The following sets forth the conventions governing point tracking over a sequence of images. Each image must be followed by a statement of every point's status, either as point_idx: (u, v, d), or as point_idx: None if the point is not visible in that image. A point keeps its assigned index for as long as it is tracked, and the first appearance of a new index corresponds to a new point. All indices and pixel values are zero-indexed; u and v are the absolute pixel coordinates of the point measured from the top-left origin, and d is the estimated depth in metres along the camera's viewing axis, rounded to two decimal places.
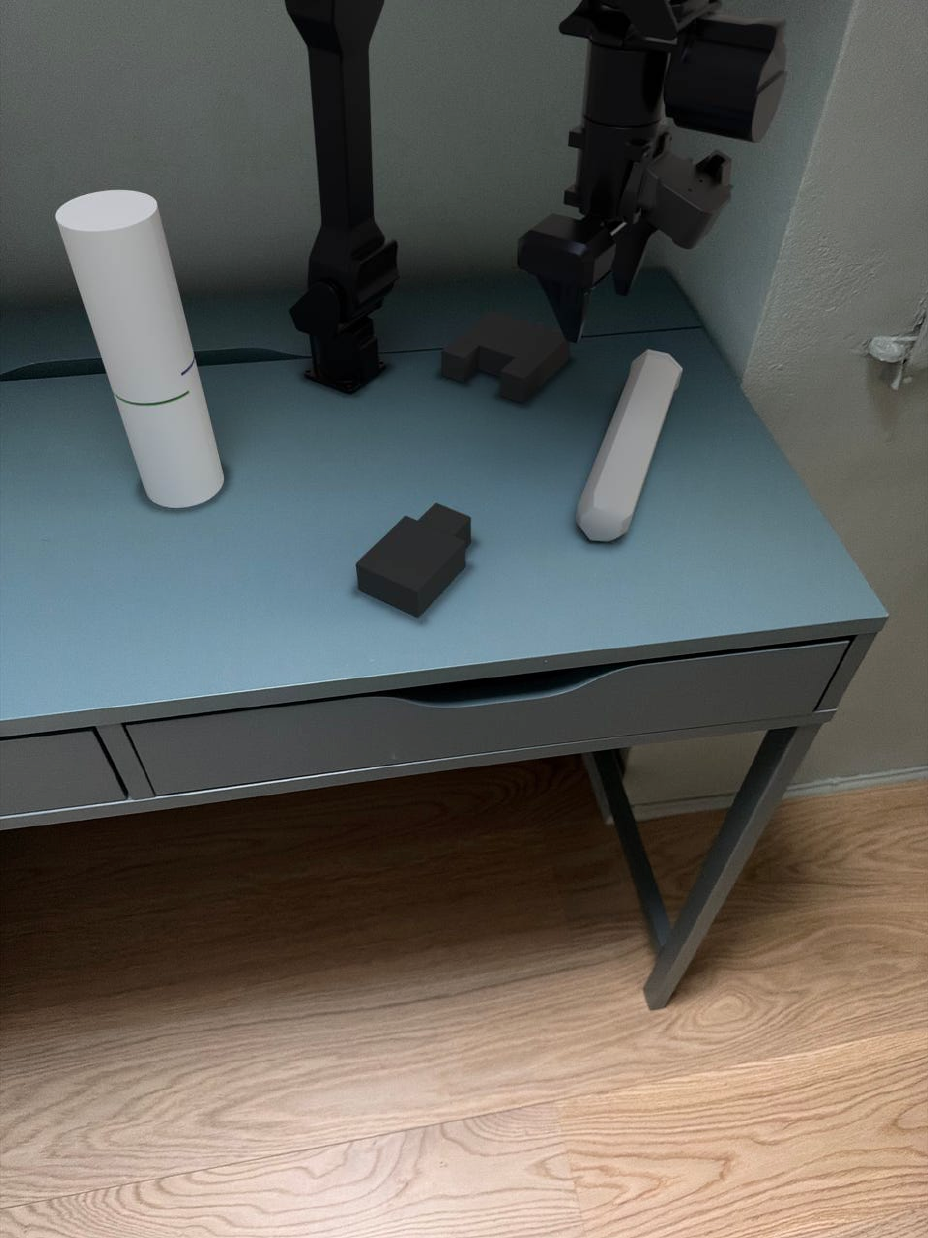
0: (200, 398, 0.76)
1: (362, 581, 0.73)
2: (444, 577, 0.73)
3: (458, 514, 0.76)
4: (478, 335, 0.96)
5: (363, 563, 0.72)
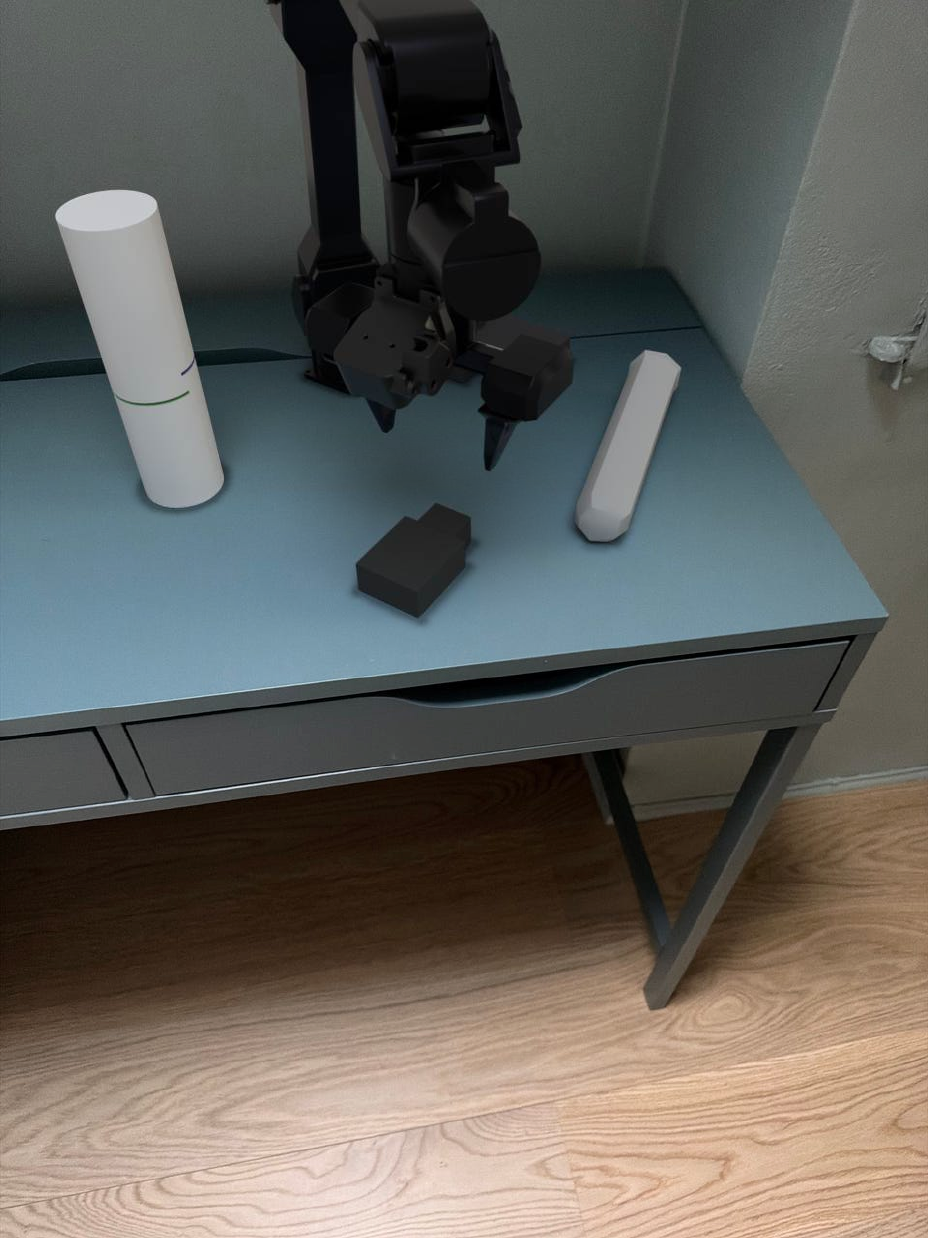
0: (200, 398, 0.76)
1: (362, 581, 0.73)
2: (444, 577, 0.73)
3: (458, 514, 0.76)
4: (478, 335, 0.96)
5: (363, 563, 0.72)
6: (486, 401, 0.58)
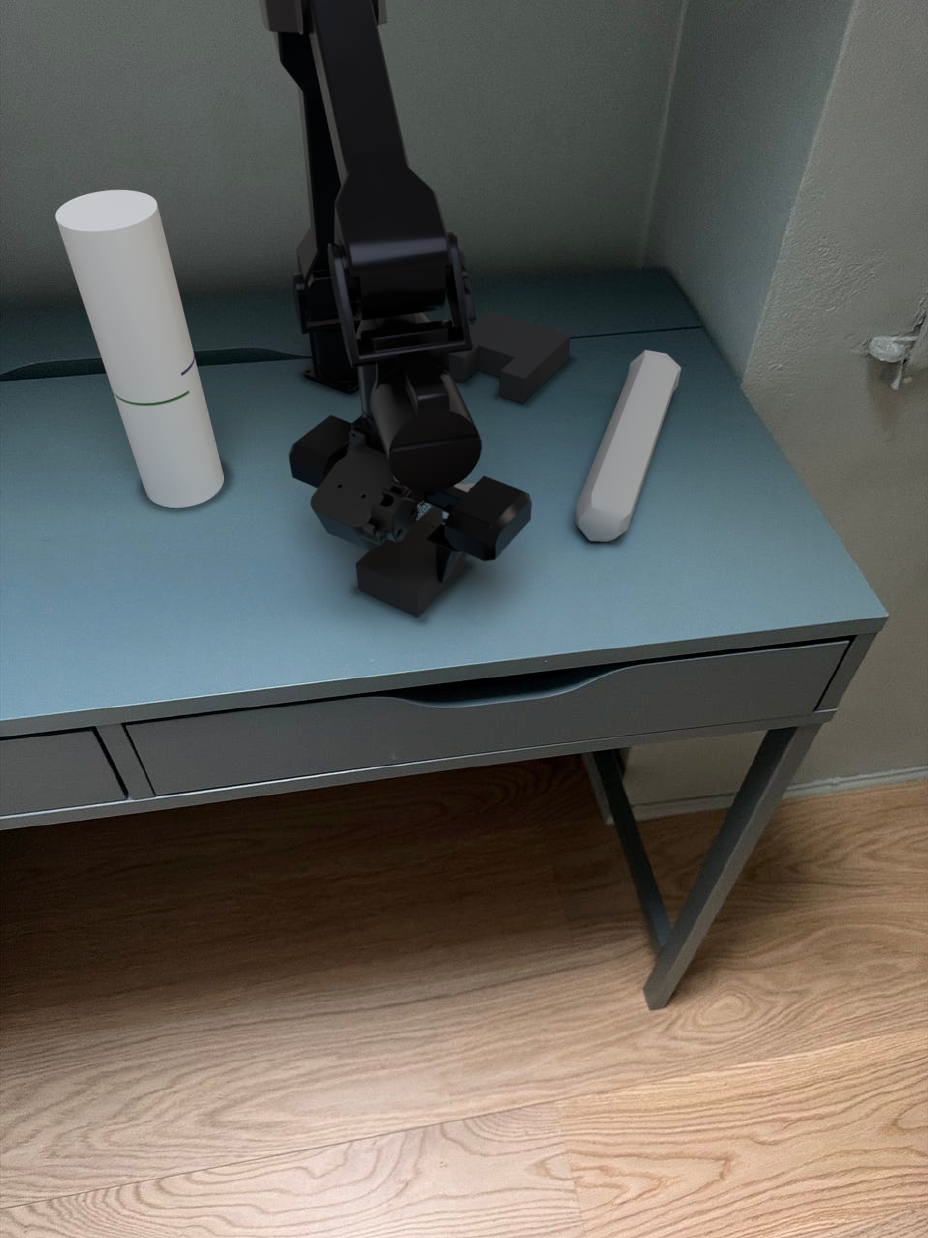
0: (200, 398, 0.76)
1: (362, 581, 0.73)
2: None
3: None
4: (478, 335, 0.96)
5: (363, 563, 0.72)
6: (450, 540, 0.64)
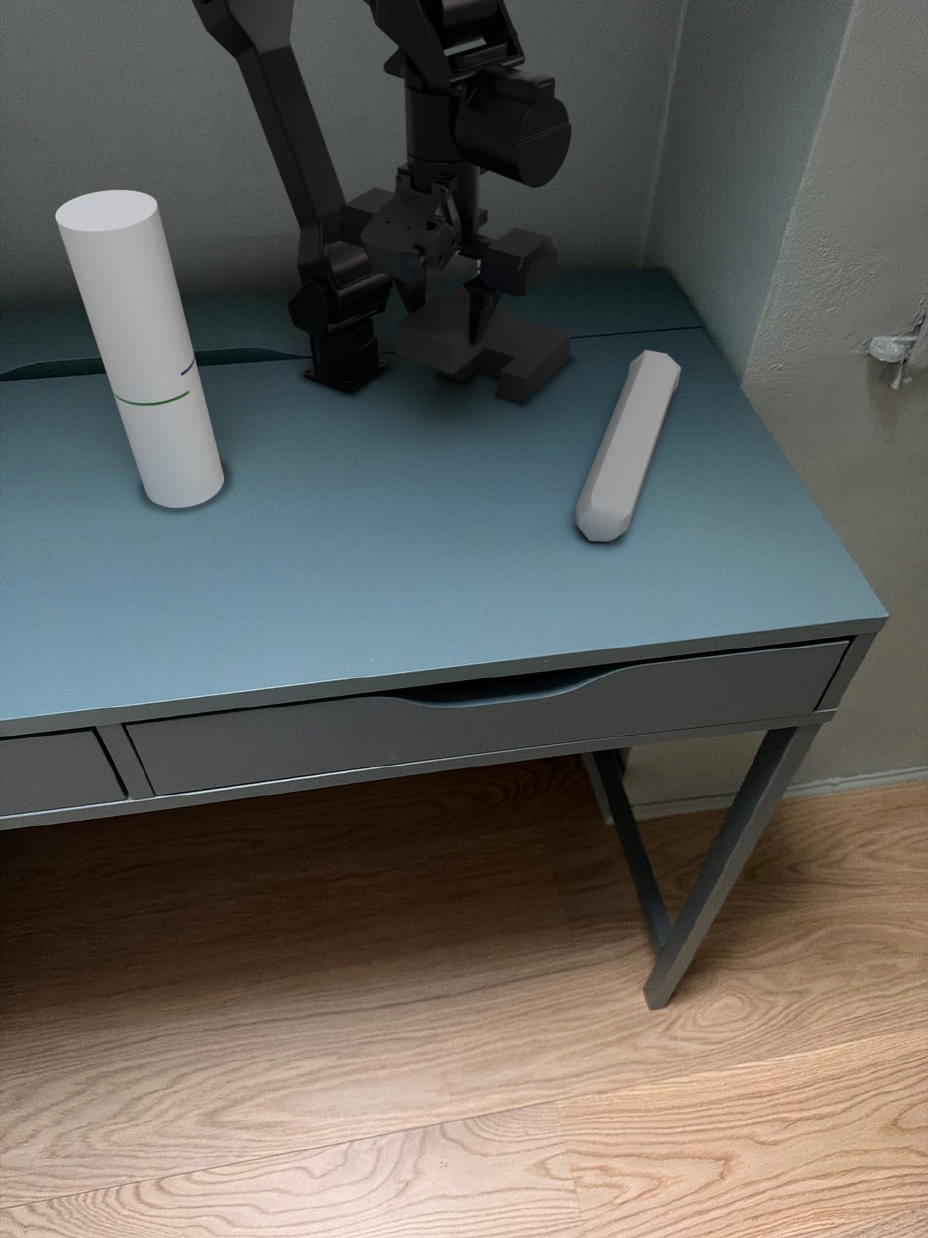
0: (200, 398, 0.76)
1: (401, 344, 0.80)
2: None
3: None
4: None
5: (402, 324, 0.79)
6: (484, 280, 0.71)
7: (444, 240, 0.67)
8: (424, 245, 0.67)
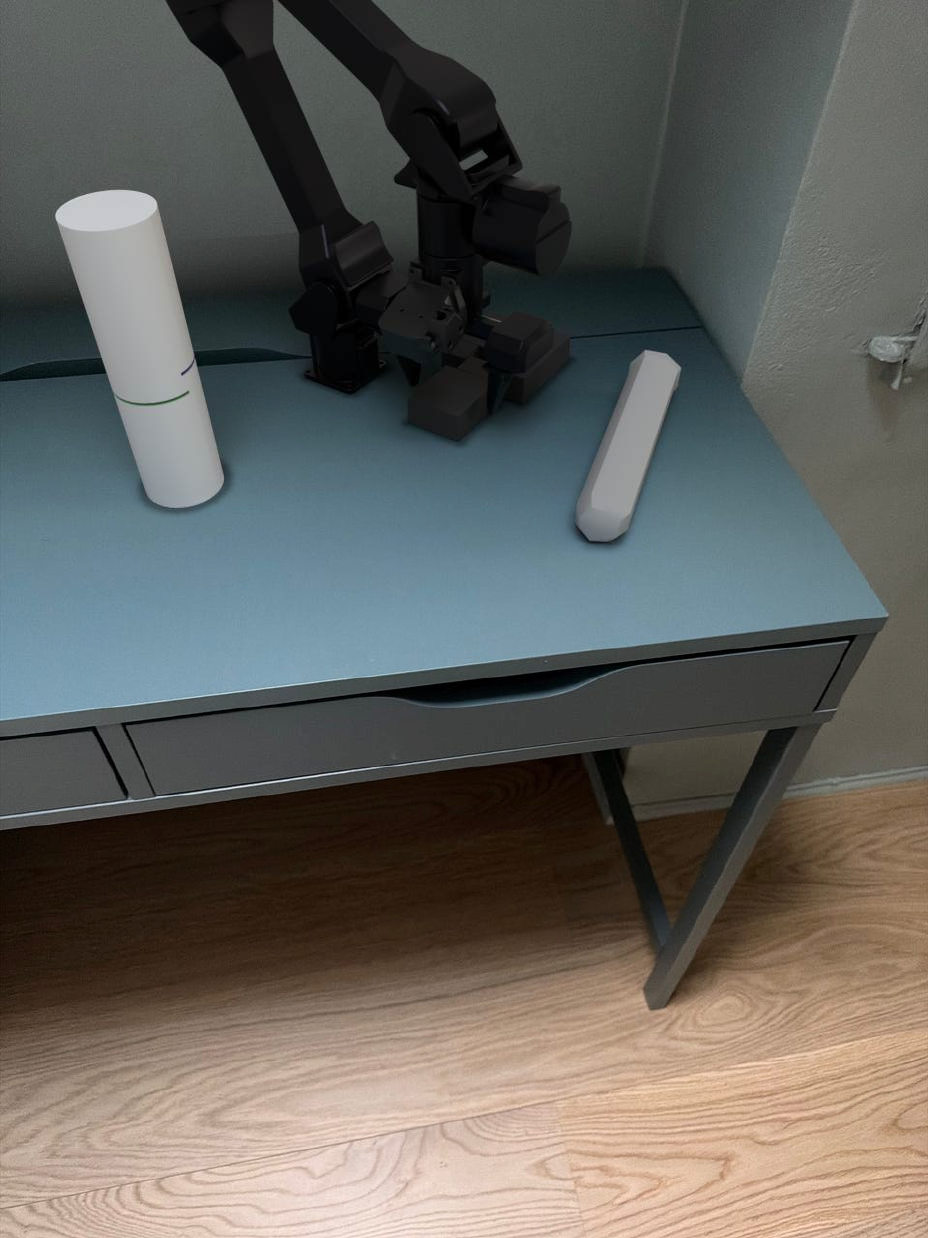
0: (200, 398, 0.76)
1: (412, 413, 0.89)
2: (479, 410, 0.89)
3: None
4: None
5: (413, 397, 0.88)
6: (488, 359, 0.80)
7: (453, 328, 0.76)
8: (435, 333, 0.76)
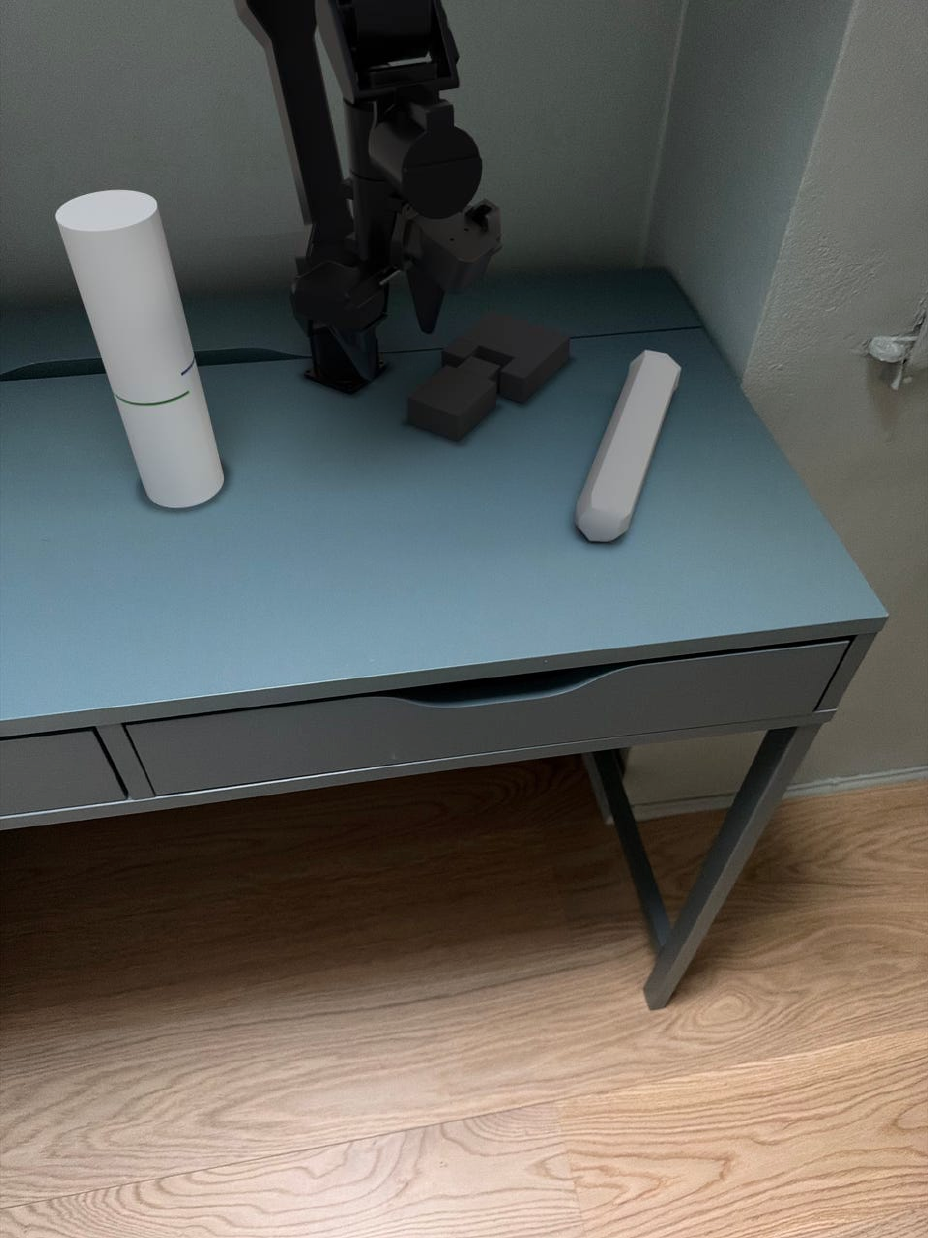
0: (200, 398, 0.76)
1: (412, 413, 0.89)
2: (479, 410, 0.89)
3: (489, 364, 0.92)
4: (478, 335, 0.96)
5: (413, 397, 0.88)
6: None
7: None
8: (494, 226, 0.69)
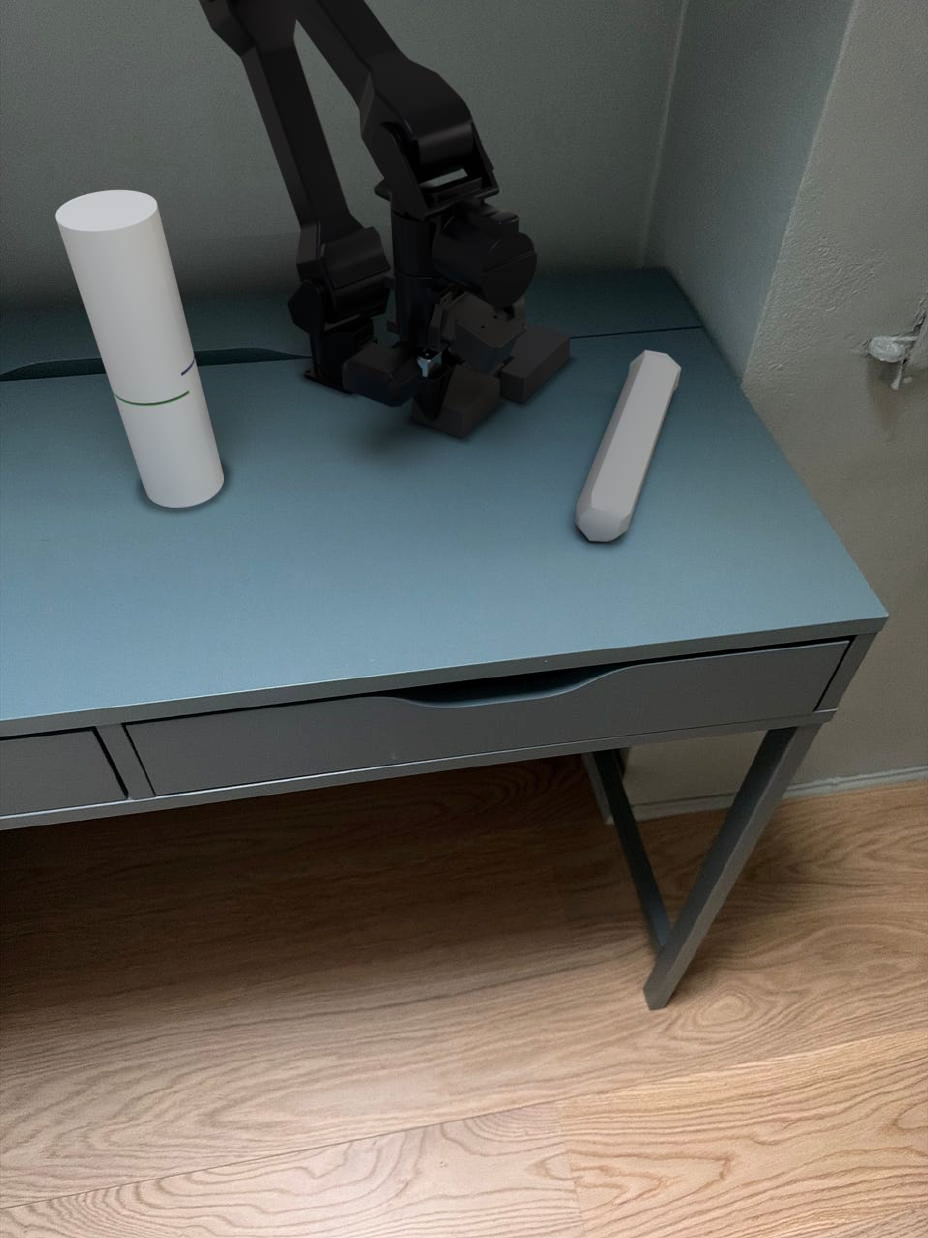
0: (200, 398, 0.76)
1: (416, 410, 0.89)
2: (483, 407, 0.89)
3: None
4: None
5: None
6: None
7: None
8: (519, 313, 0.78)
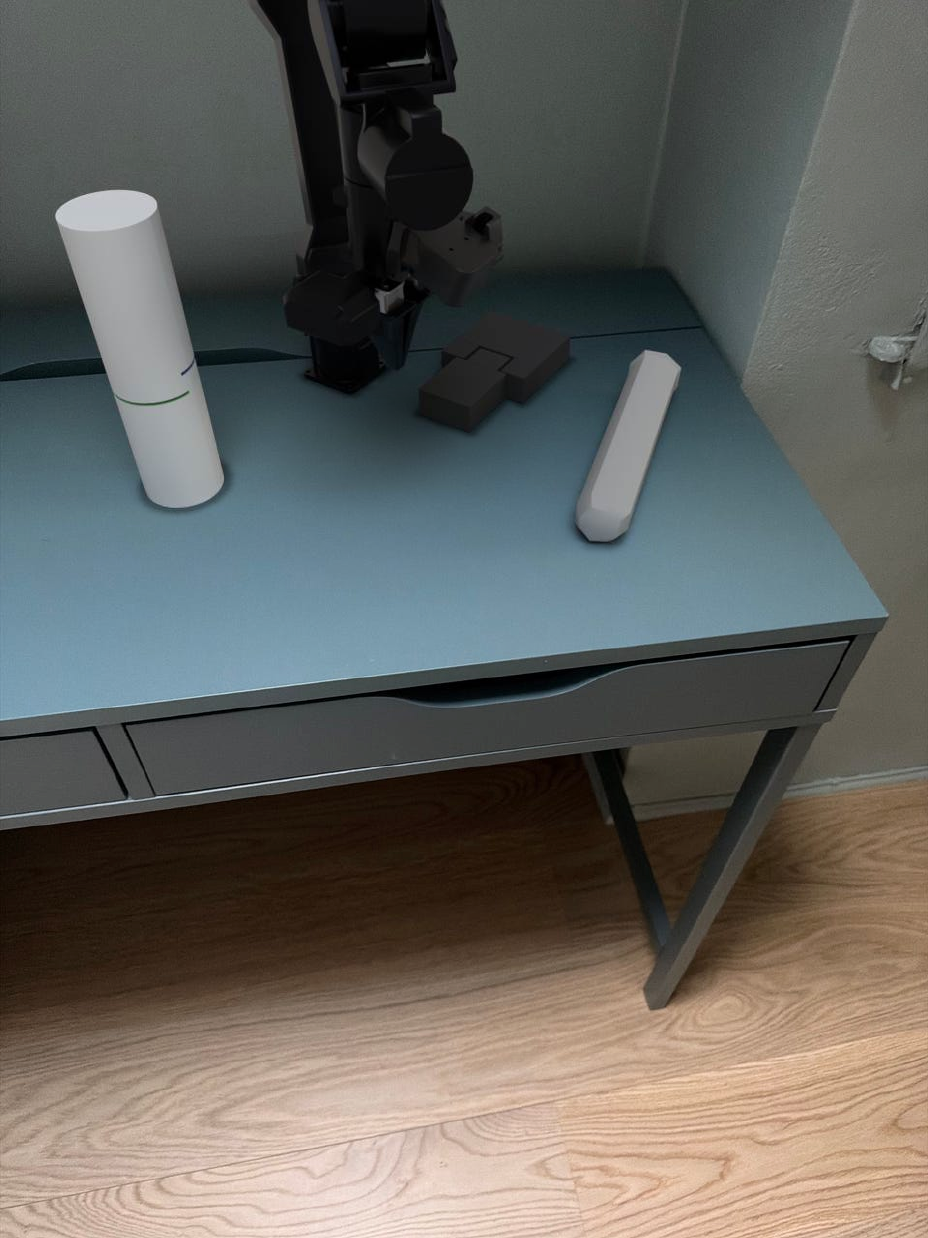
0: (200, 398, 0.76)
1: (423, 405, 0.90)
2: (489, 402, 0.90)
3: (499, 356, 0.93)
4: (478, 335, 0.96)
5: (424, 388, 0.89)
6: None
7: None
8: (495, 235, 0.65)
